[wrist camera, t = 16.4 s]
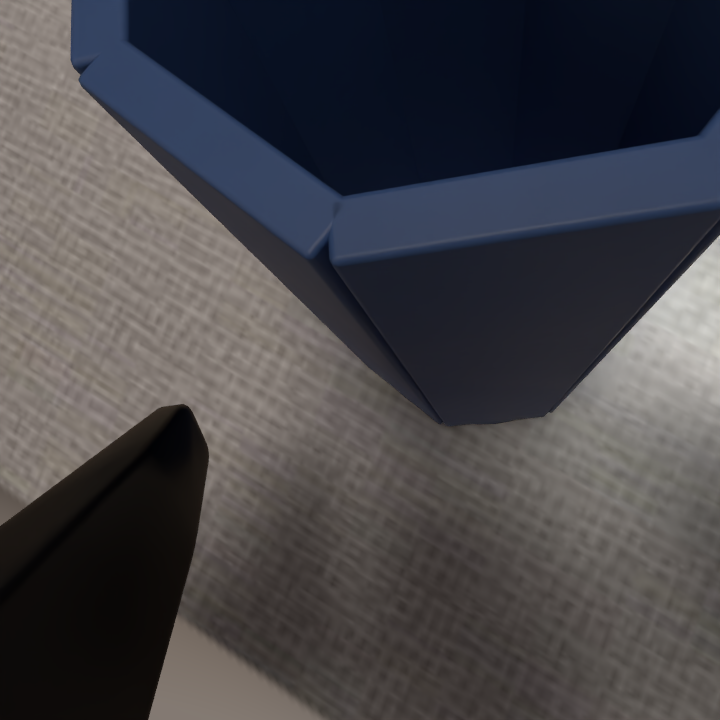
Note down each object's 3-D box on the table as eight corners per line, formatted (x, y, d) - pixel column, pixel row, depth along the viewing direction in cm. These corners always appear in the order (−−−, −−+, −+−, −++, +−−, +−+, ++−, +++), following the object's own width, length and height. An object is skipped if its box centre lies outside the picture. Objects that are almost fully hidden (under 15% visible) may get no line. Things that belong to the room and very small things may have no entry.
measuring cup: (622, 411, 16) (1135, 144, 3) (375, 435, 17) (62, 305, 4) (556, 26, 18) (712, -978, 6) (343, 71, 19) (80, -688, 7)
